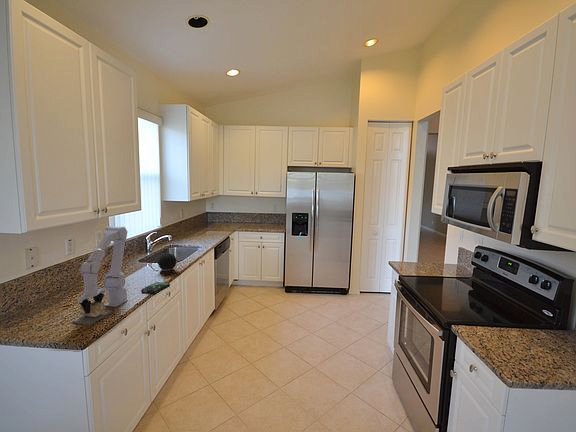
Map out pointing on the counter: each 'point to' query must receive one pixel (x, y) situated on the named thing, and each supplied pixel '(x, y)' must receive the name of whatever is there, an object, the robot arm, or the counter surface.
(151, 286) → the disk drive
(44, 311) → the counter surface
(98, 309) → the hollow block
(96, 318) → the pin board
